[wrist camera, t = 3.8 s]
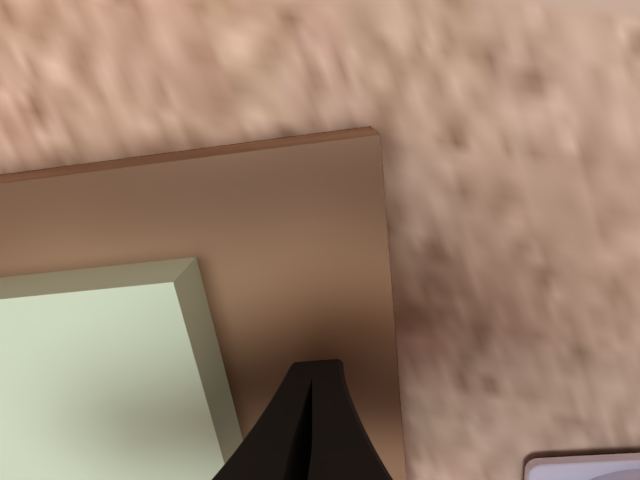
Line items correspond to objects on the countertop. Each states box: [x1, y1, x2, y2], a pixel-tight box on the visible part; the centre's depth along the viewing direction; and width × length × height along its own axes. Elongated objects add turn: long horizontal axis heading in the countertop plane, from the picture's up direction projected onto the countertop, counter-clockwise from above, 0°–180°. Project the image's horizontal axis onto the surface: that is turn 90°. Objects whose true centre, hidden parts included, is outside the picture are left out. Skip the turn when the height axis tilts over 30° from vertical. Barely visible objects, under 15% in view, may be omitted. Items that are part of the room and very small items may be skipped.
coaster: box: [0, 257, 243, 480], centre depth 11 cm, size 8×8×2 cm
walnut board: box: [0, 126, 406, 480], centre depth 13 cm, size 15×14×3 cm
